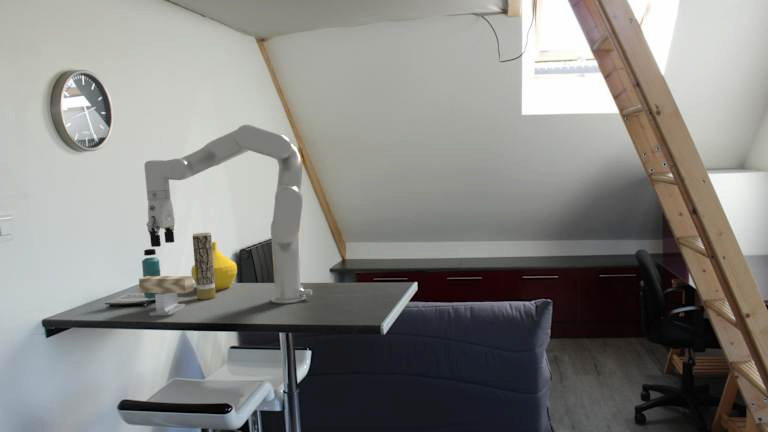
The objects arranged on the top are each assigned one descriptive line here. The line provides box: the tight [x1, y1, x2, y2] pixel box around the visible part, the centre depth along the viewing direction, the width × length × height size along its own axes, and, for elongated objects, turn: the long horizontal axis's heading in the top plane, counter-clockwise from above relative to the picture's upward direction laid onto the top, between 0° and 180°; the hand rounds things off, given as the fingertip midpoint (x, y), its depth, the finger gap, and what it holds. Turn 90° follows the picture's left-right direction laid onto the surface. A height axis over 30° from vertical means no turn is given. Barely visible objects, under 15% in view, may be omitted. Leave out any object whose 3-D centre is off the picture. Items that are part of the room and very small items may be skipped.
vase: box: [190, 241, 238, 291], centre depth 243 cm, size 18×18×19 cm
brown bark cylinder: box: [192, 232, 216, 301], centre depth 225 cm, size 7×7×25 cm
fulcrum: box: [149, 293, 186, 316], centre depth 208 cm, size 7×12×7 cm, turn 173°
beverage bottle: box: [141, 248, 162, 300], centre depth 225 cm, size 6×7×20 cm
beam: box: [138, 275, 195, 294], centre depth 207 cm, size 18×5×5 cm, turn 77°
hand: (163, 244), depth 206 cm, fingers open, 9 cm apart
